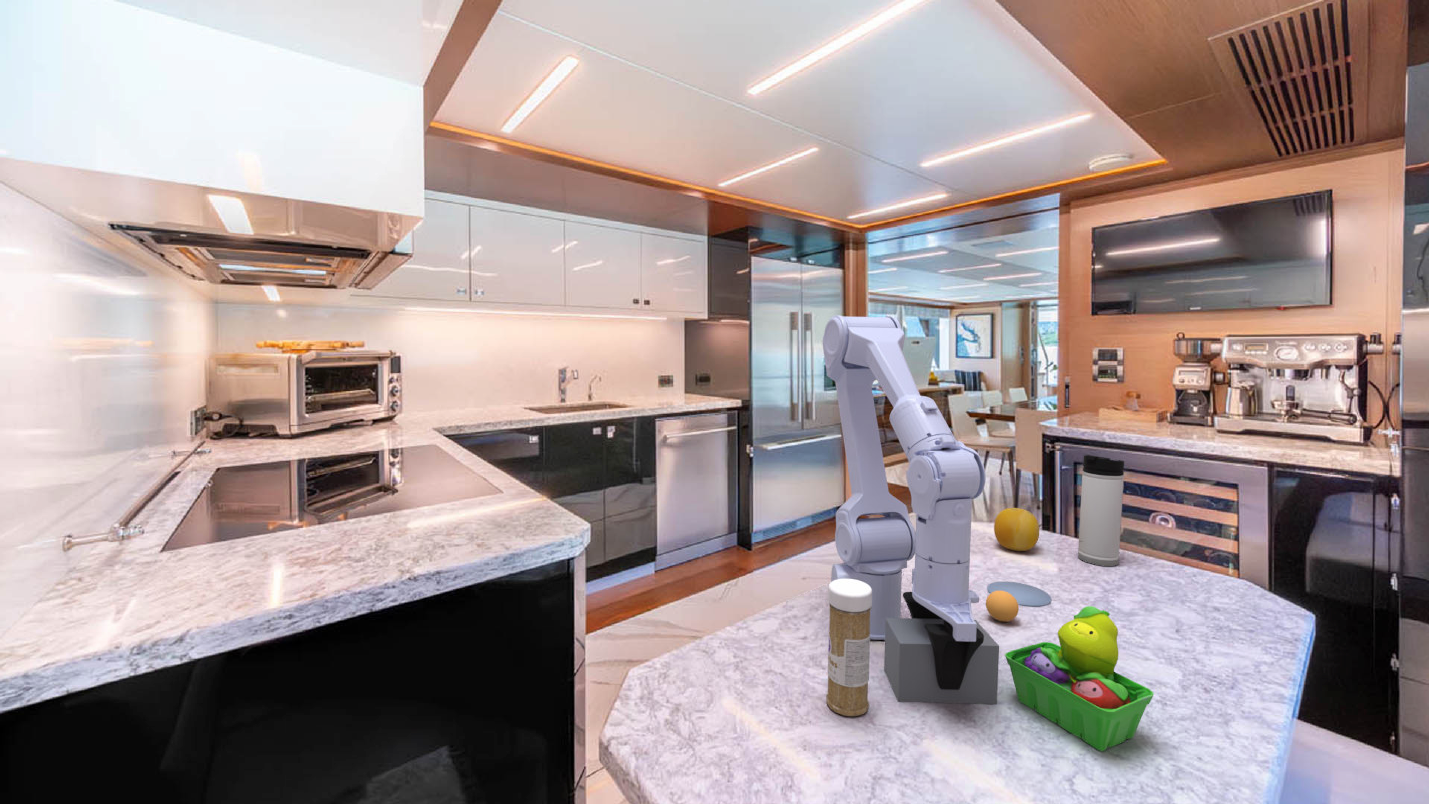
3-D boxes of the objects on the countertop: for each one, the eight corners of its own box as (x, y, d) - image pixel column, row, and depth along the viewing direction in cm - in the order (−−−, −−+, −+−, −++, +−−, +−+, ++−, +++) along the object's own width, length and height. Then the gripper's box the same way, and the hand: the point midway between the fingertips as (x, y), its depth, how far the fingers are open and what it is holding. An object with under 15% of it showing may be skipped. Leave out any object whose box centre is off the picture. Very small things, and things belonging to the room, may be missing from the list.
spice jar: (821, 694, 62) (823, 577, 61) (860, 691, 62) (862, 576, 61) (833, 720, 57) (836, 595, 56) (876, 717, 58) (879, 593, 57)
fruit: (1044, 558, 104) (1046, 517, 104) (997, 554, 107) (998, 513, 106) (1033, 543, 113) (1034, 505, 112) (989, 539, 115) (990, 502, 114)
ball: (993, 626, 78) (994, 597, 77) (980, 613, 82) (981, 585, 81) (1023, 627, 77) (1025, 598, 77) (1009, 613, 82) (1010, 586, 81)
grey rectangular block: (898, 701, 61) (899, 643, 60) (884, 670, 67) (885, 617, 66) (996, 704, 60) (999, 646, 60) (973, 673, 66) (975, 619, 66)
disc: (1003, 605, 84) (1003, 604, 84) (977, 582, 93) (977, 580, 93) (1063, 607, 84) (1063, 605, 84) (1032, 583, 93) (1032, 582, 93)
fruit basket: (998, 697, 62) (1003, 599, 61) (1051, 678, 65) (1056, 585, 64) (1106, 765, 51) (1113, 648, 50) (1162, 739, 55) (1169, 629, 54)
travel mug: (1068, 556, 105) (1073, 453, 104) (1094, 553, 107) (1100, 451, 106) (1100, 568, 99) (1106, 458, 98) (1126, 564, 101) (1133, 456, 100)
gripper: (1009, 581, 55) (1003, 711, 56) (953, 535, 69) (949, 639, 70) (937, 580, 55) (933, 709, 56) (896, 534, 70) (893, 638, 71)
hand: (938, 670), depth 63 cm, fingers closed on grey rectangular block, 6 cm apart
